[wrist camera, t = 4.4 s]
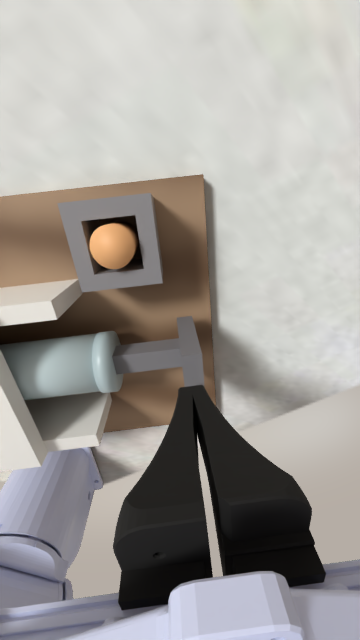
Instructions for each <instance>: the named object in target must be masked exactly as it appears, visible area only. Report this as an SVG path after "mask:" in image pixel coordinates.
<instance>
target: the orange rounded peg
mask: <svg viewBox="0 0 360 640" xmlns="http://www.w3.org/2000/svg"><path fill="white" fill-rule="evenodd" d="M139 246H140V241H139V235H138V231H137V230H136V228H135V227H134V226H133V225H131V224H129V223H127V222H122V221H121V222H115V223H111V224H106V225H103V226H100V227H99V228H97V229H96V230H95V231H94V232H93V234H92V236H91V238H90V251H91V254H92V256H93V258H94V259H95V260H96V261H97V262H98V263H99V264H100V265H101V266H103V267H105V268H108V269H119V268H122V267H124V266H126V265H127V264H128V263H129V262H130V260H131V259H132V257H133V256H134V255H135V253H136V252H137V250H138V248H139Z"/></svg>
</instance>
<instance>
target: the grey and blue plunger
mask: <svg viewBox="0 0 360 640" xmlns="http://www.w3.org/2000/svg"><path fill="white" fill-rule="evenodd" d="M177 326H178V335H179V338H177V339H168V340H160V341H151V342H143V343H134V344H126V345H121V344H120V341H119V338H118V336H117V334H116V332H115V331H107V332H99V333H96V334H88V335H79V336H71V337H62V338H54V339H45V340H37V341H28V342H20V343H11V344H3V345H0V350H1V352H2V354H3V356H4V358H5V360H6V363H7V365H8V367H9V369H10V371H11V373H12V375H13V378H14V380H15V382H16V384H17V386H18V388H19V390H20V393H21V395H22V397H23V399H24V400H33V399H41V398H49V397H57V396H66V395H74V394H82V393H91V392H99V391H101V392H102V393H109V392H117V391H119V390H120V389H121V386H122V382H123V374H125V373H134V372H142V371H150V370H159V369H167V368H175V367H182V369H183V377H184V386H185V387H188V386H196V385H203V386H204V373H203V360H202V352H201V348H200V344H199V340H198V337H197V333H196V329H195V325H194V322H193V318H192V316H186V317H178V318H177ZM204 387H205V386H204Z"/></svg>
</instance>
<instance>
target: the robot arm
mask: <svg viewBox="0 0 360 640" xmlns="http://www.w3.org/2000/svg"><path fill="white" fill-rule="evenodd" d="M197 435H198V439H199V443H200V447H201V451H202V455H203V459H204V463H205V467H206V471H207V476H208V481H209V487H210V493H211V500H212V506H213V513H214V519H215V525H216V532H217V538H218V545H219V551H220V558H221V564H222V571H223V576H221V577H214V578H213V575H212V567H211V558H210V549H209V542H208V541H209V540H208V532H207V525H206V524H207V523H206V516H205V508H204V501H203V495H202V488H201V481H200V473H199V466H198V465H199V464H198V444H197ZM102 487H103V481H102V478H101V476H100V473H99V470H98V467H97V465H96V462H95V459H94V456H93V453H92V451H91V448H90V447H84V448H76V449H68V450H60V451H52V452H48V453H47V456H46V458H45V460H44V462H43V464H42V466H41V467H34V468H26V469H18V470H13V471H12V472H11V474H10V476H9V477H8V479H7V481H6V483H5V485H4V486H3V488H2V490H1V491H0V640H360V560H352V561H345V562H338V563H330V564H323V565H322V563H321V561H320V559H319V556H318V554H317V552H316V550H315V547H314V544H315V542H314V539H313V537H312V535H311V532H310V530H309V526H310V521H311V515H312V508H311V506H310V504H309V502H308V500H307V498H306V496H305V495H304V493H303V491H302V490H301V488H300V487H299V485H298V484H297V482H296V481H295V480H294V478H293V477H292V476H291V475H289V474H288V473H286V472H285V471H283V470H281V469H280V468H278V467H277V466H276V465H274V464H273V463H272V462H270V461H269V460H268V459H267V458H265V457H264V456H263V455H261V454H260V453H259V452H258V451H257V450H256V449H254V448H253V447H252V446H251V445H250V444H249V443H248V442H246V441H245V440H244V439H243V438H242V437H241V436H240V435H239V434H238V433H237V432H236V431H235V429H234V428H233V427H232V426H231V425H230V424H229V423H228V421H227V420H226V419H225V418H224V417H223V415H222V414H221V413H220V411H219V410H218V409H217V407H216V406H215V404H214V403H213V401H212V400H211V398H210V397H209V395H208V393H207V391H206V389H205V387H204V386H203V385H196V386H188V387H181V388H179V389H178V397H177V402H176V406H175V410H174V413H173V416H172V419H171V422H170V424H169V427H168V430H167V432H166V434H165V437H164V439H163V441H162V443H161V445H160V447H159V449H158V451H157V452H156V454H155V456H154V458H153V460H152V461H151V463H150V464H149V466H148V467H147V469H146V471H145V472H144V474H143V475H142V477H141V478H140V480H139V481H138V482H137V484H136V485H135V486H134V487H133V489H132V490H131V492H130V493H129V494H128V495H127V496H126V498H125V500H124V502H123V505H122V508H121V511H120V514H119V518H118V522H117V526H116V531H115V538H114V544H113V549H114V553H115V556H116V558H117V560H118V563H119V565H120V567H121V570H122V572H121V581H120V590H119V593H114V594H107V595H99V596H93V597H85V598H78V599H73V590H72V585H71V582H70V581H69V580H68V579H66V578H65V576H66V573H67V569H68V568H69V567H70V565H71V564H72V562H73V561H74V559H75V557H76V556H77V554H78V551H79V549H80V546H81V542H82V538H83V534H84V530H85V526H86V522H87V518H88V514H89V510H90V506H91V502H92V498H93V493H94V490H97V489H101V488H102Z"/></svg>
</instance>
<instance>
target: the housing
mask: <svg viewBox="0 0 360 640" xmlns="http://www.w3.org/2000/svg"><path fill="white" fill-rule="evenodd" d="M57 204H58V208H59V211H60V215H61V219H62V222H63V226H64V229H65V233H66V237H67V240H68V244H69V247H70V251H71V255H72V258H73V262H74V266H75V269H76V273H77V276H78V279H74V280H65V281H56V282H48V283H39V284H30V285H21V286H13V287H4V288H0V326H7V325H15V324H24V323H33V322H41V321H50V320H57V319H58V318H59V317H60V316H61V315H62V314H63V313H64V312H65V311H66V310H67V309H68V308H69V307H70V306H71V305H72V304H73V303H74V302H75V301H76V300H77V299H78V298H79V297H80V296H81V295H82V293H83V292H91V291H100V290H108V289H117V288H126V287H134V286H143V285H152V284H160V283H163V266H162V258H161V251H160V243H159V235H158V228H157V220H156V212H155V205H154V197H153V196H152V194H151V193H145V194H136V195H127V196H118V197H109V198H100V199H90V200H81V201H72V202H63V203H57ZM132 215H135V217H136V223H137V229H138V235H139V241H140V248H141V254H142V258H140V259H131V260H130V262H129V263H128V264H127V265H126V266H124V267H122V268H119V269H108V268H105V267H103V266H101V265H100V264H99V263H98V262H97V261H96V260H95V259H94V258H93V256H92V254H91V251H90V238H91V236H92V234H93V232H94V231H95V230H96V229H97V228H99V227H100V223H99V219H105V218H114V217H123V216H132ZM111 402H112V398H111V395H110V392H109V393H102V392H93V393H85V394H77V395H69V396H60V397H52V398H44V399H35V400H27V401H24V399H23V397H22V395H21V393H20V390H19V388H18V386H17V384H16V382H15V380H14V378H13V375H12V373H11V371H10V369H9V367H8V365H7V363H6V360H5V358H4V356H3V354H2V352H1V350H0V472H2V471H10V470H18V469H26V468H34V467H41V466H42V464H43V462H44V460H45V458H46V456H47V453H48V452H52V451H60V450H68V449H76V448H84V447H93V446H100V442H101V439H102V435H103V432H104V428H105V424H106V421H107V417H108V413H109V410H110V406H111Z"/></svg>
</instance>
